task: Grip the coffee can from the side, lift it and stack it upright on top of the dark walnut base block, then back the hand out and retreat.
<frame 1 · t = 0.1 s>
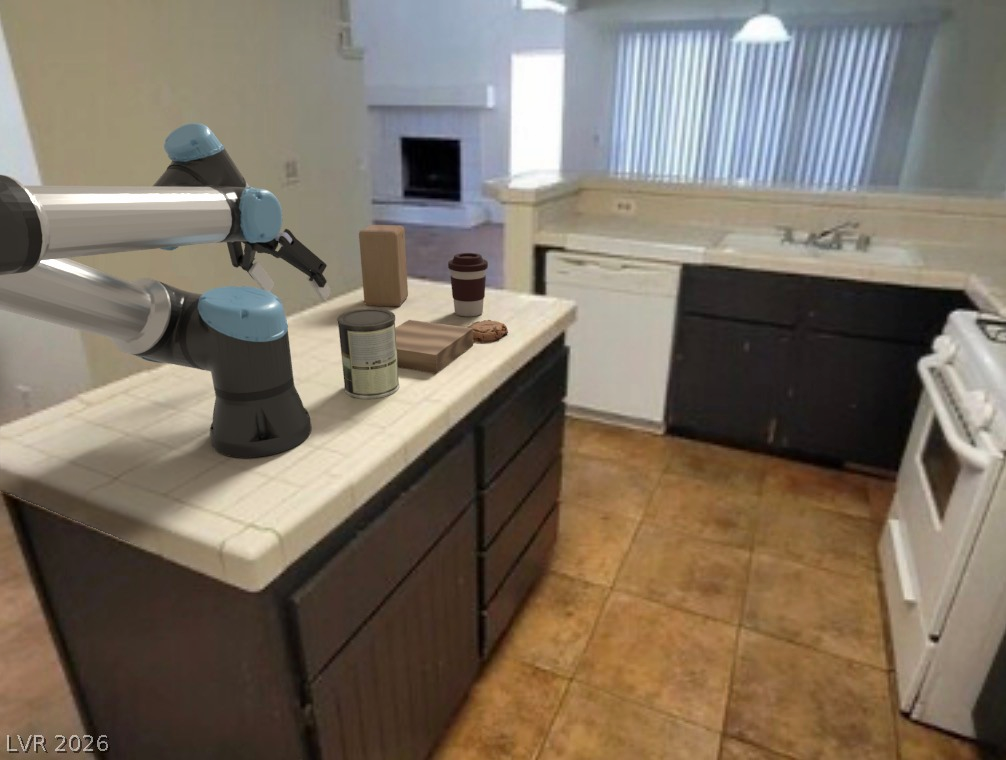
hand: (298, 292, 127), 15 cm above the worktop, tool tilted 35°, fingers open, 13 cm apart
walnut base block: (422, 353, 138), on the worktop
wooden block: (386, 302, 175), on the worktop
coffee can: (372, 389, 121), on the worktop
coffee cup: (468, 313, 166), on the worktop
cookie: (487, 336, 150), on the worktop
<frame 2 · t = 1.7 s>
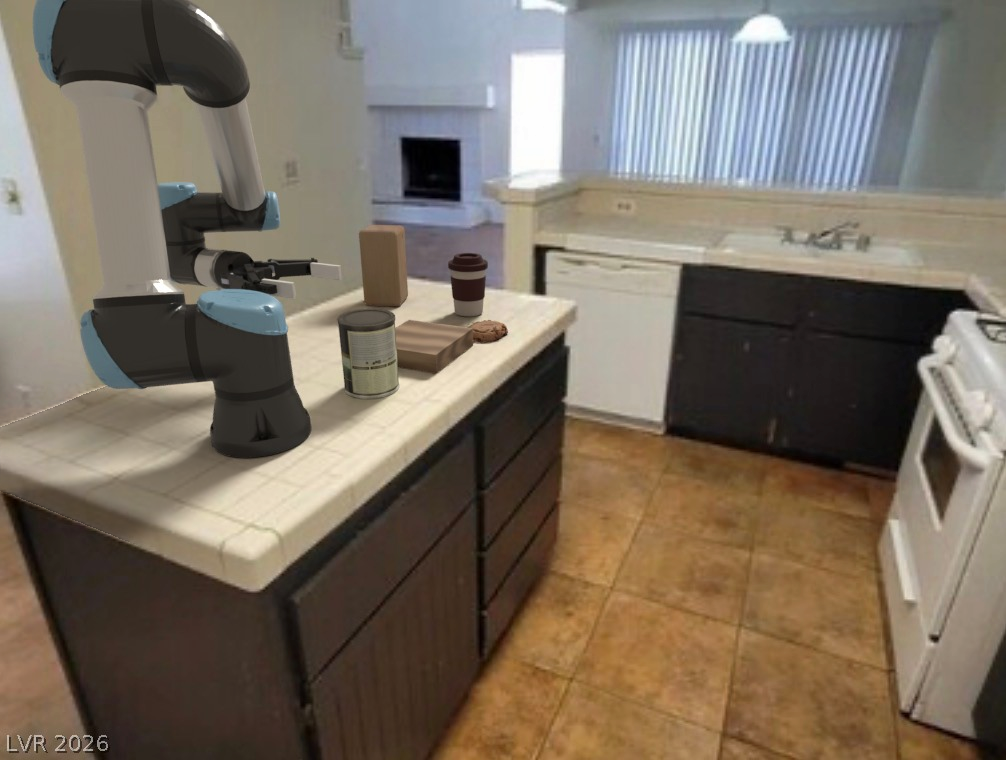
hand: (318, 281, 117), 20 cm above the worktop, tool horizontal, fingers open, 13 cm apart
nothing on the worktop moved.
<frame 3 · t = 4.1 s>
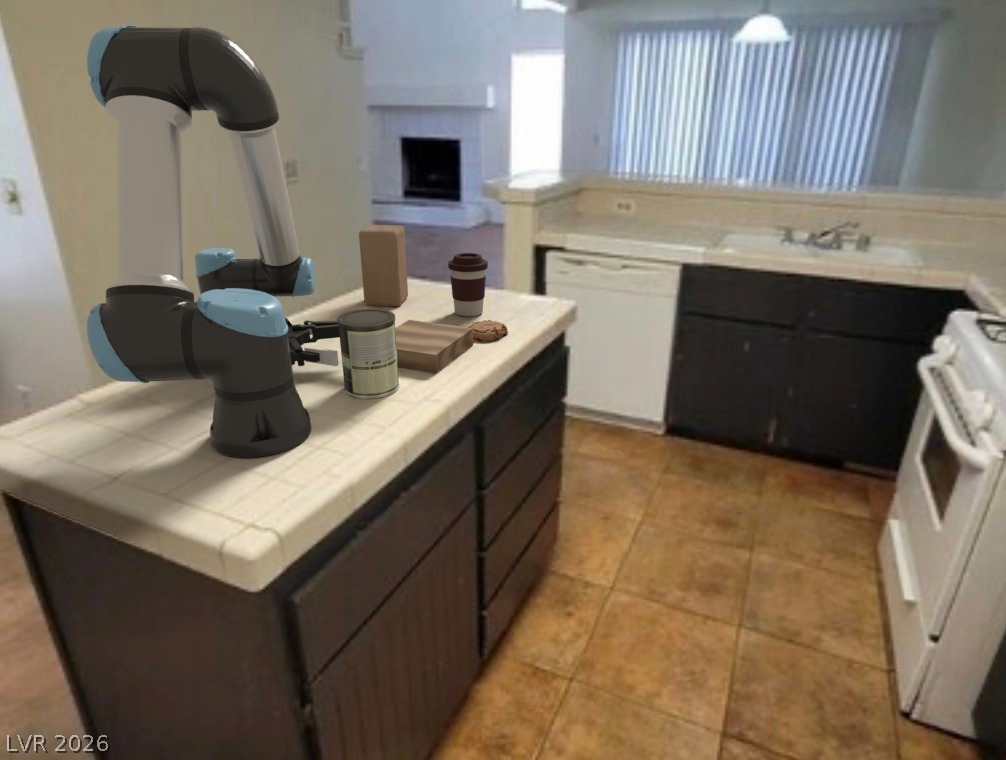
hand: (358, 346, 120), 8 cm above the worktop, tool horizontal, fingers open, 13 cm apart
nothing on the worktop moved.
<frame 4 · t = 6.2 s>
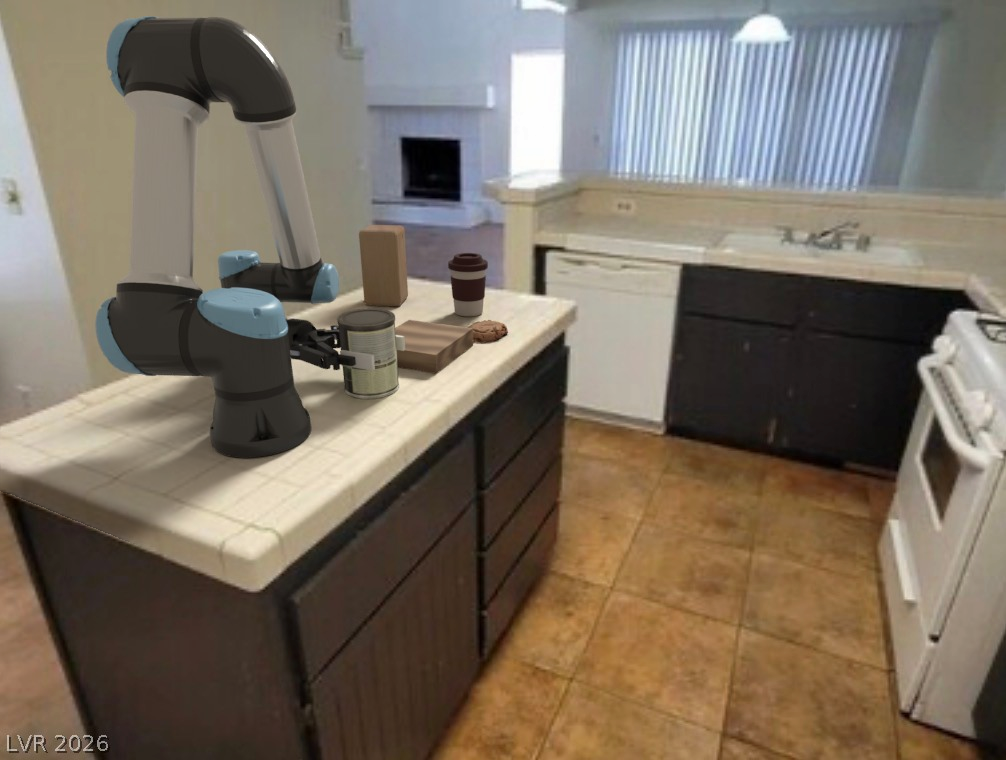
hand: (389, 352, 117), 8 cm above the worktop, tool horizontal, fingers closed on coffee can, 10 cm apart
coffee can: (372, 389, 121), on the worktop, touching gripper
everything else where it was.
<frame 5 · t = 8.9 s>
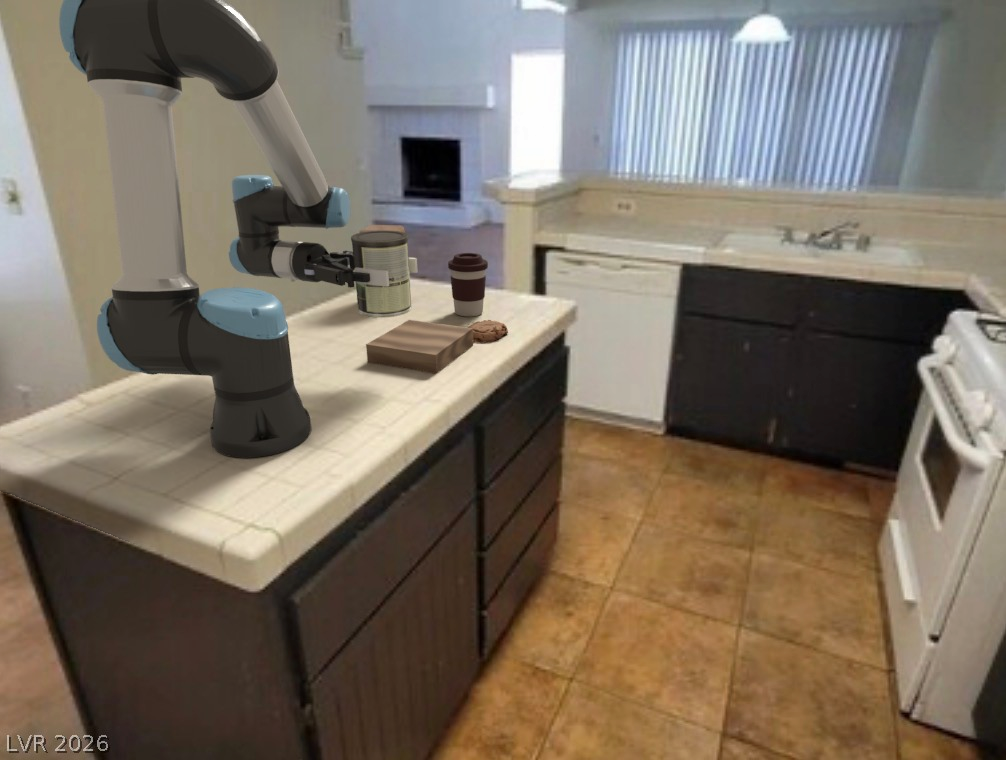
hand: (402, 271, 118), 21 cm above the worktop, tool horizontal, fingers closed on coffee can, 10 cm apart
coffee can: (385, 310, 123), point 13 cm above the worktop, touching gripper
everything else where it was.
when the fingers open (13 cm above the worktop, at t = 11.9 s): coffee can drops 1 cm, resting on walnut base block.
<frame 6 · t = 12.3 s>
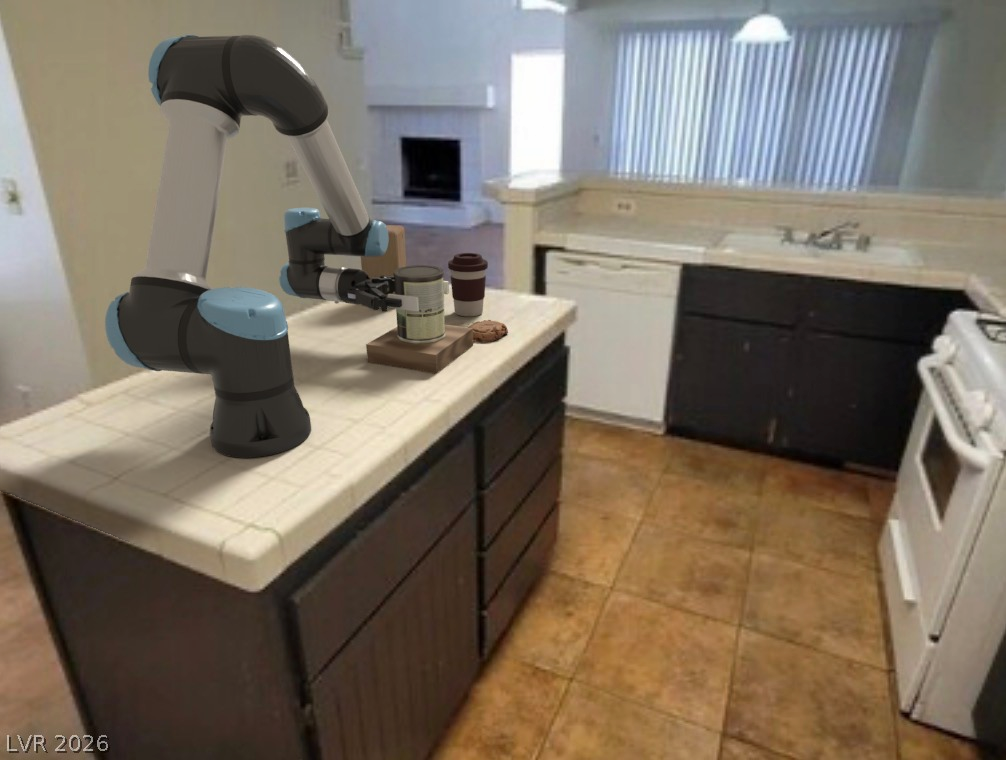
hand: (433, 295, 132), 13 cm above the worktop, tool horizontal, fingers open, 13 cm apart
coffee can: (421, 336, 137), point 4 cm above the worktop, touching walnut base block
everything else where it was.
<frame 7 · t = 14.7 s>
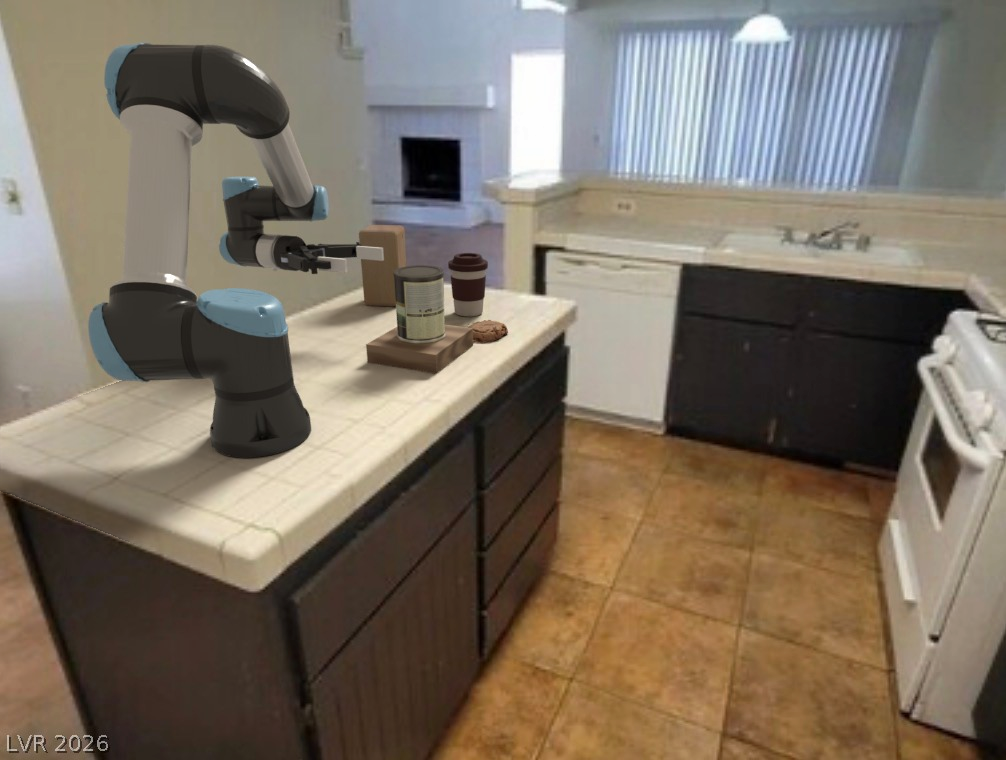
hand: (365, 259, 134), 19 cm above the worktop, tool horizontal, fingers open, 13 cm apart
nothing on the worktop moved.
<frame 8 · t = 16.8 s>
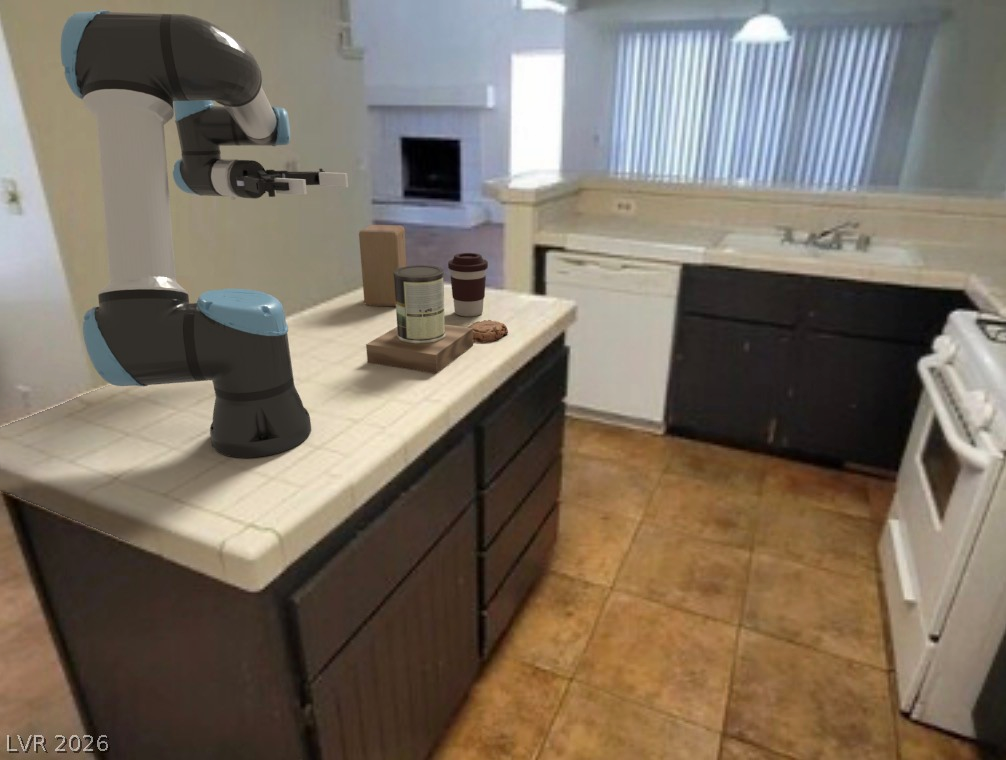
hand: (327, 183, 126), 35 cm above the worktop, tool horizontal, fingers open, 13 cm apart
nothing on the worktop moved.
at the end: coffee can inside the target area on the walnut base block (0.0 cm from its centre), point 3.8 cm above the walnut base block's base; coffee can tilted 0°; the gripper is holding nothing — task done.
